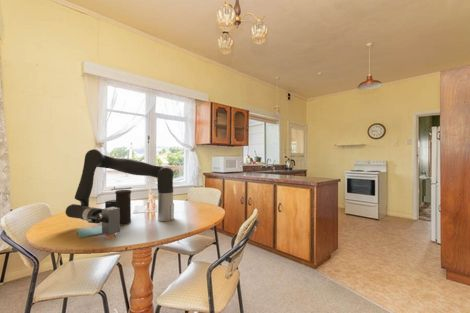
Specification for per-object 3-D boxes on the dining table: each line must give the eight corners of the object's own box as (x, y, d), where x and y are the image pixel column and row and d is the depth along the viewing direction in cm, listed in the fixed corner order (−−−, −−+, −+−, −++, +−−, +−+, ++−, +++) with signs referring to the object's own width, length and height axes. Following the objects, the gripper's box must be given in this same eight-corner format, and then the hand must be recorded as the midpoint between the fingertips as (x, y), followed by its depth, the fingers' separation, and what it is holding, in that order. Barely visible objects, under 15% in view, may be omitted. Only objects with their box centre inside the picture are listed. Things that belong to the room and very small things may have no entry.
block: (111, 236, 114) (111, 229, 114) (115, 237, 113) (115, 230, 113) (105, 238, 111) (105, 231, 111) (109, 239, 110) (109, 232, 110)
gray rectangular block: (112, 230, 116) (112, 206, 116) (119, 232, 113) (119, 208, 113) (101, 233, 111) (101, 209, 111) (108, 235, 108) (108, 210, 108)
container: (134, 221, 139) (134, 189, 139) (122, 226, 130) (122, 191, 130) (123, 220, 142) (123, 188, 142) (111, 224, 133) (111, 190, 133)
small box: (130, 218, 147) (130, 199, 147) (124, 221, 140) (124, 202, 140) (111, 217, 148) (111, 199, 148) (104, 220, 141) (104, 201, 141)
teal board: (105, 226, 129) (105, 225, 129) (109, 232, 119) (109, 231, 119) (77, 231, 121) (77, 229, 121) (79, 238, 111) (79, 236, 111)
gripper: (79, 210, 113) (99, 215, 104) (107, 205, 125) (127, 208, 117) (79, 225, 113) (99, 231, 104) (107, 218, 125) (127, 223, 117)
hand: (114, 219), depth 111 cm, fingers closed on gray rectangular block, 5 cm apart
